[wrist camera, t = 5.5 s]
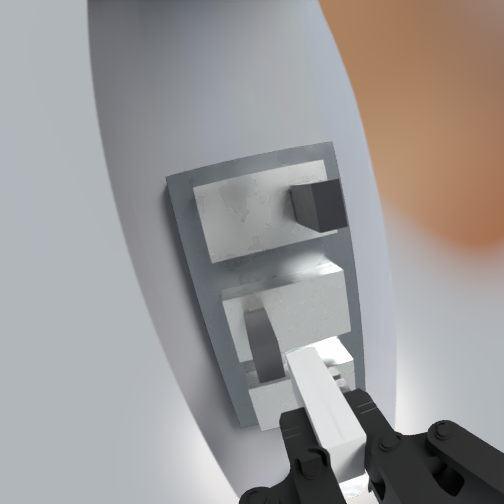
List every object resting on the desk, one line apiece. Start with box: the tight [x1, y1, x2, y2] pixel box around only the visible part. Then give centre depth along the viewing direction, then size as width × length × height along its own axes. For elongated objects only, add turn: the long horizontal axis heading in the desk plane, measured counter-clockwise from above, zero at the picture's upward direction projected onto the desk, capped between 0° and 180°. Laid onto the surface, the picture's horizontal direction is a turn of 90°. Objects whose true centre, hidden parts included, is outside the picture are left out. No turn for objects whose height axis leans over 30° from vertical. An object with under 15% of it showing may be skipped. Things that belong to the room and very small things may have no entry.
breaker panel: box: [166, 142, 365, 431], centre depth 22 cm, size 24×13×10 cm, turn 13°
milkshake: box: [339, 472, 369, 500], centre depth 26 cm, size 4×5×10 cm
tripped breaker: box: [244, 310, 286, 384], centre depth 19 cm, size 3×2×5 cm, turn 13°
